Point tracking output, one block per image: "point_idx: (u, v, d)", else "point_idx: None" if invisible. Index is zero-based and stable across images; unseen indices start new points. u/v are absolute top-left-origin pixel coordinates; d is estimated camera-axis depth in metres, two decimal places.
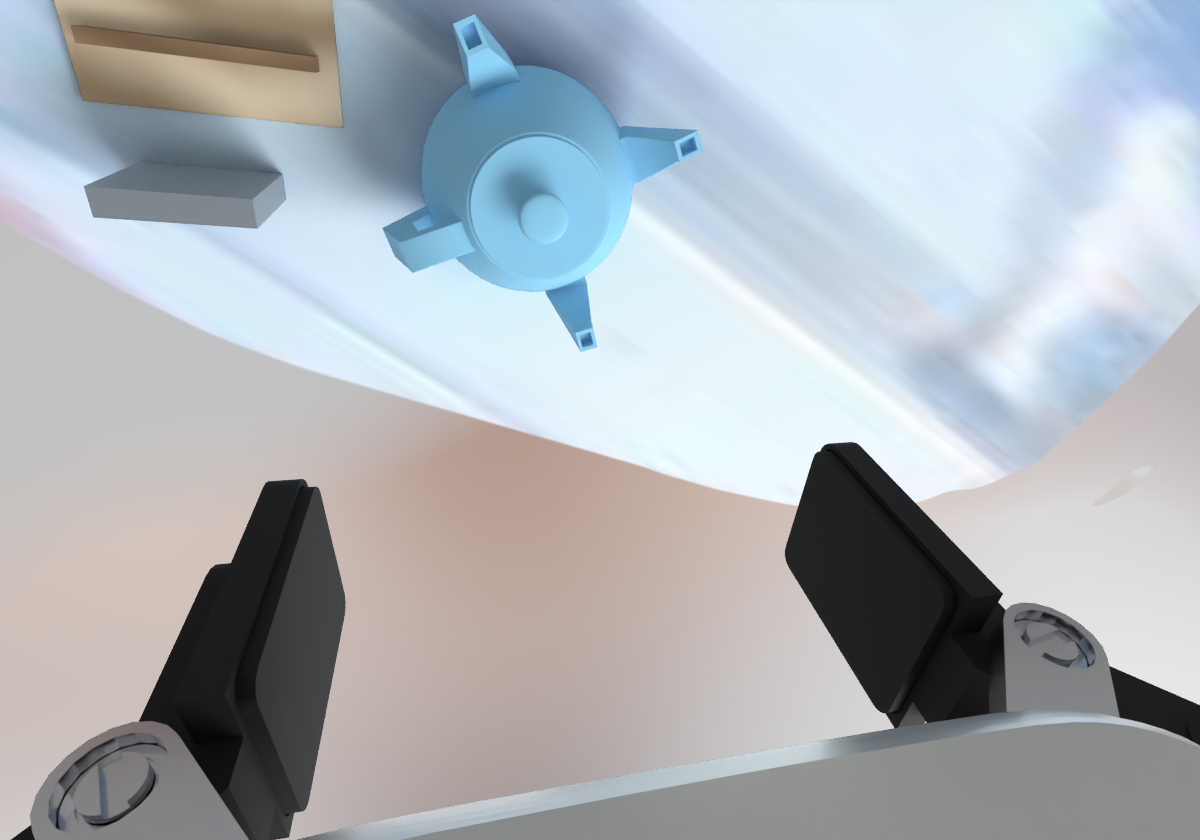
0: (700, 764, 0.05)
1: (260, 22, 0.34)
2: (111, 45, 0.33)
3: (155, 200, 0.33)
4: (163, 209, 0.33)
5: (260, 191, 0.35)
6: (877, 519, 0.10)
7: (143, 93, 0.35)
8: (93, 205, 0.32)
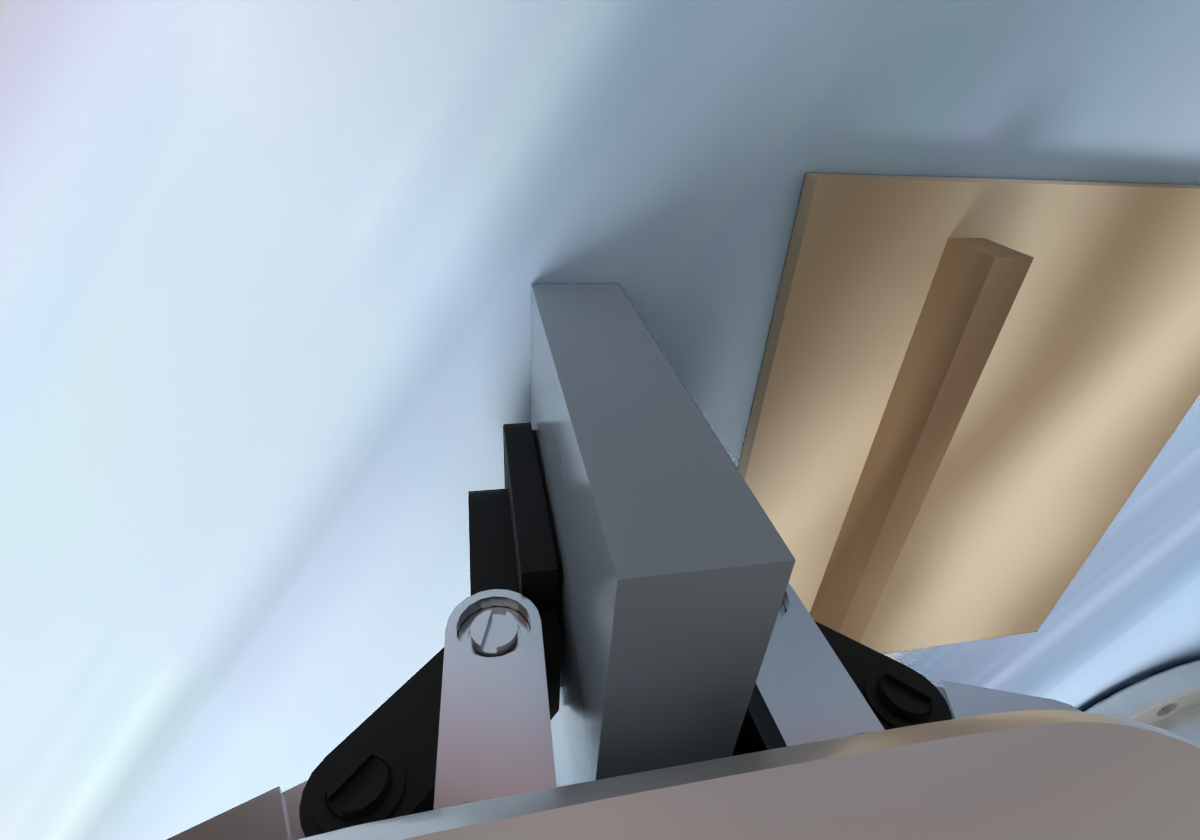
0: (700, 764, 0.05)
1: None
2: (961, 347, 0.11)
3: None
4: None
5: None
6: None
7: (809, 348, 0.12)
8: (687, 584, 0.05)
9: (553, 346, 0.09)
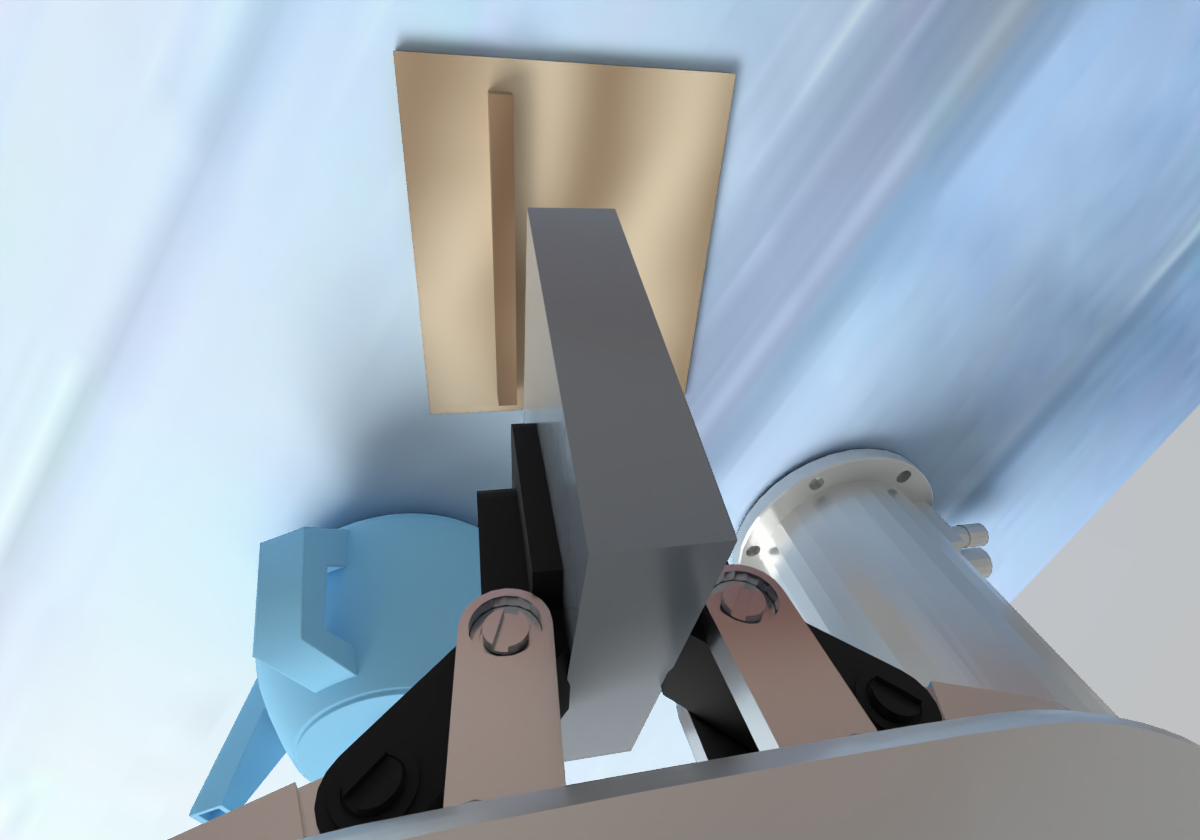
0: (700, 764, 0.05)
1: None
2: (493, 150, 0.21)
3: (647, 661, 0.09)
4: (612, 673, 0.09)
5: None
6: None
7: (425, 157, 0.21)
8: (646, 556, 0.06)
9: (547, 293, 0.09)
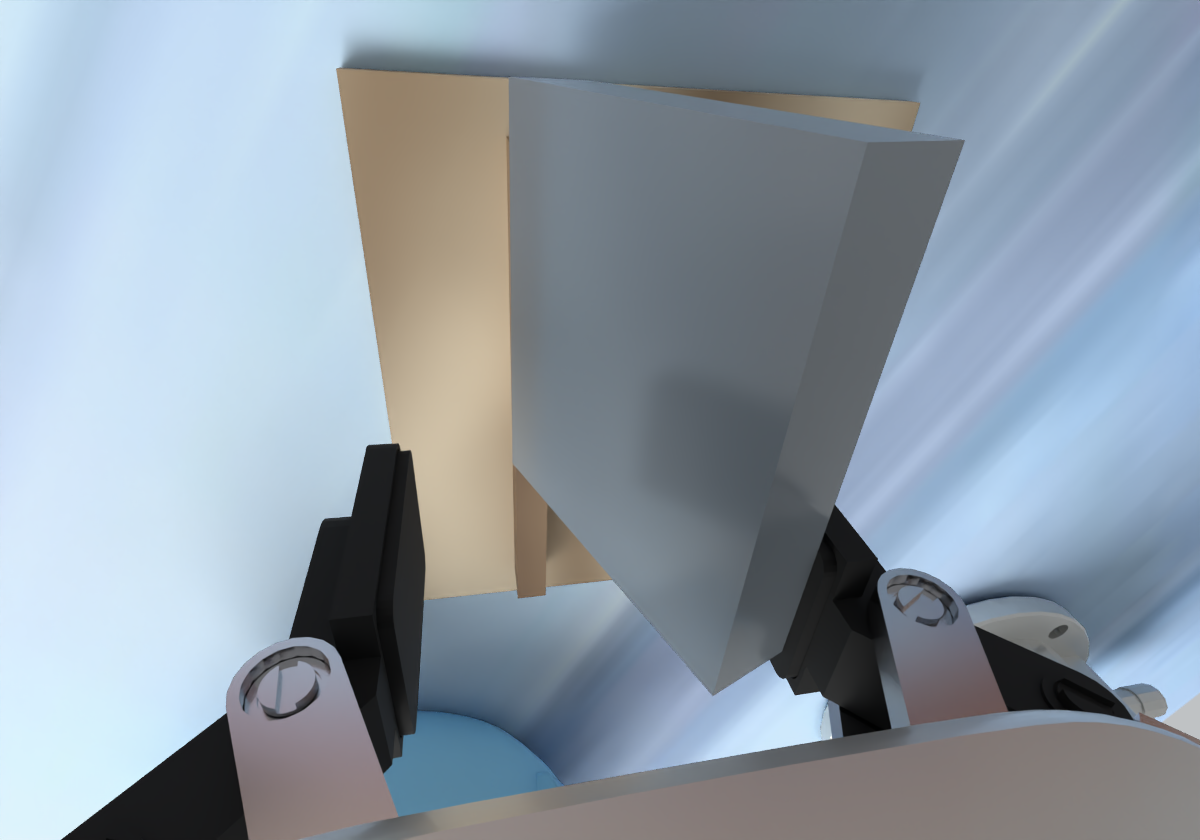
0: (700, 764, 0.05)
1: None
2: None
3: (845, 419, 0.07)
4: (815, 448, 0.07)
5: None
6: None
7: (399, 247, 0.13)
8: (902, 160, 0.06)
9: (596, 91, 0.08)
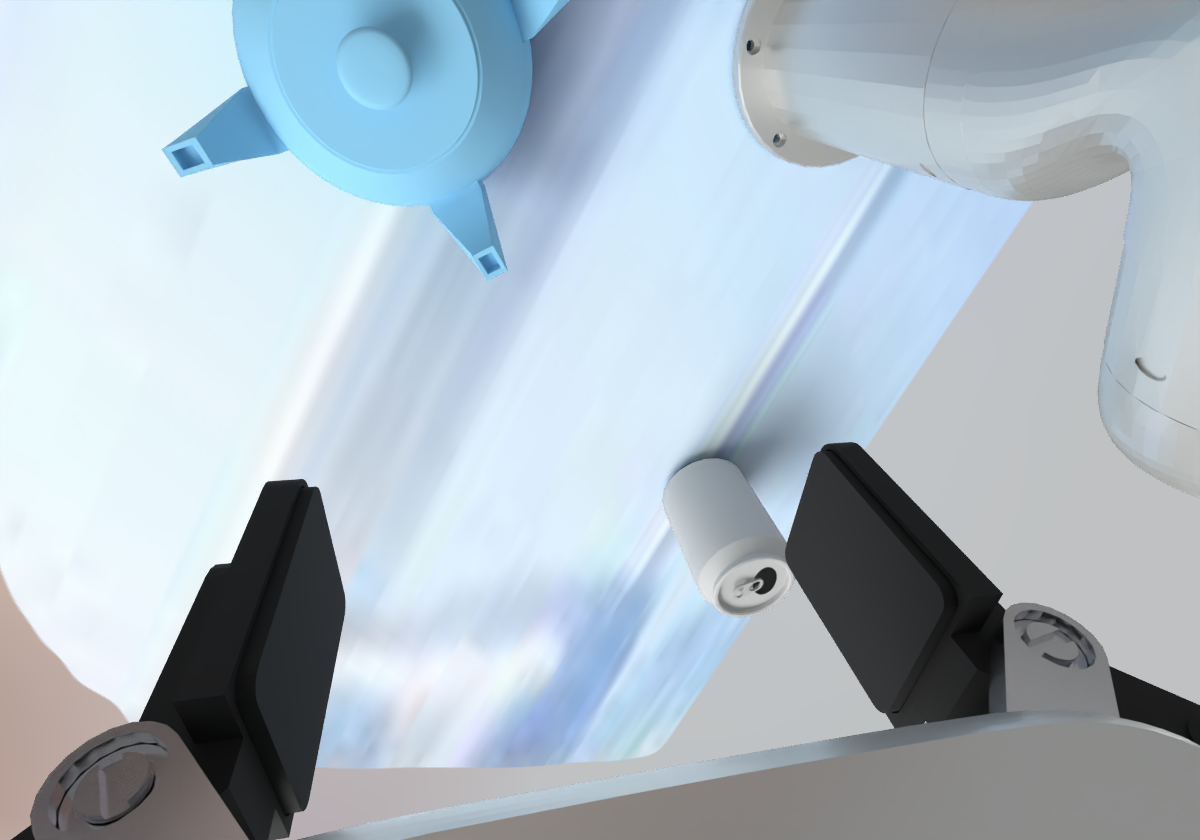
0: (700, 764, 0.05)
1: None
2: None
3: None
4: None
5: None
6: (877, 519, 0.10)
7: None
8: None
9: None
